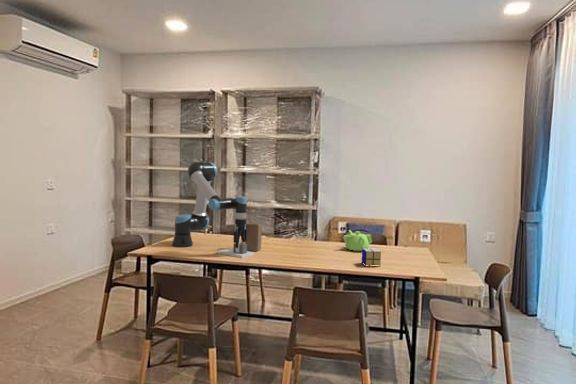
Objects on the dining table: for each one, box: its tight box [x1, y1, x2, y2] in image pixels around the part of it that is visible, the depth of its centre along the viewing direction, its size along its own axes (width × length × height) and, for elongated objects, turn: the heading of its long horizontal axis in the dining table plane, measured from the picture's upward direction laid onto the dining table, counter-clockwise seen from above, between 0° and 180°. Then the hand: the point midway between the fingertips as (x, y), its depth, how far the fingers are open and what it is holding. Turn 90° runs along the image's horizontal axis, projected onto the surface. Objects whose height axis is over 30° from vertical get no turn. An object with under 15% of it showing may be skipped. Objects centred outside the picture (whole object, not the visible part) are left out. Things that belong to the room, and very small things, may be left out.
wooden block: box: [245, 221, 263, 253], centre depth 319 cm, size 10×10×20 cm
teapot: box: [342, 229, 373, 252], centre depth 335 cm, size 19×20×14 cm
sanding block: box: [233, 242, 247, 254], centre depth 302 cm, size 8×5×6 cm, turn 59°
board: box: [216, 247, 255, 258], centre depth 305 cm, size 22×14×2 cm, turn 60°
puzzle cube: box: [361, 248, 382, 266], centre depth 286 cm, size 10×10×10 cm
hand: (239, 251), depth 302 cm, fingers closed on sanding block, 5 cm apart
